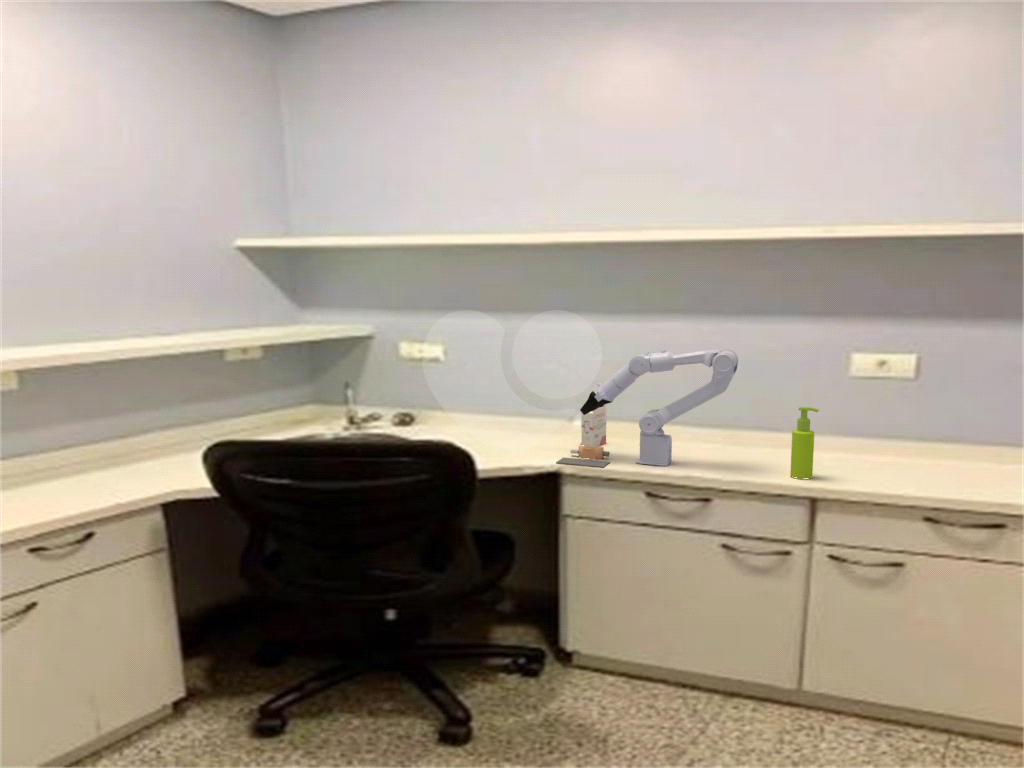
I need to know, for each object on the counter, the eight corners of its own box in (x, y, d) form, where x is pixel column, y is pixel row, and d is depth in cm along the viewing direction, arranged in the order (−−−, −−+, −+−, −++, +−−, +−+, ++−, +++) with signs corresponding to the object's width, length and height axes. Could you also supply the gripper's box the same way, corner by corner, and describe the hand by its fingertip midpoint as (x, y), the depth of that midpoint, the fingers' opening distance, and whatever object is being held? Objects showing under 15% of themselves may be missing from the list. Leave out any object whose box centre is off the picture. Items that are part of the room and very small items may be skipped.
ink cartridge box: (593, 441, 285) (594, 399, 283) (606, 443, 282) (607, 400, 280) (580, 446, 278) (580, 402, 276) (593, 447, 275) (593, 404, 273)
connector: (610, 458, 260) (610, 447, 260) (607, 460, 256) (607, 450, 256) (573, 455, 265) (573, 444, 264) (569, 457, 261) (569, 447, 261)
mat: (610, 462, 253) (610, 461, 253) (603, 467, 247) (603, 466, 247) (563, 458, 259) (563, 457, 259) (555, 463, 253) (555, 462, 253)
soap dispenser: (813, 481, 231) (816, 410, 228) (788, 477, 235) (791, 408, 232) (818, 476, 236) (821, 407, 233) (793, 473, 240) (796, 405, 237)
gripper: (615, 371, 262) (584, 397, 267) (603, 375, 249) (570, 403, 253) (630, 388, 261) (598, 415, 266) (618, 394, 247) (585, 421, 252)
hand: (585, 410), depth 260 cm, fingers open, 7 cm apart
